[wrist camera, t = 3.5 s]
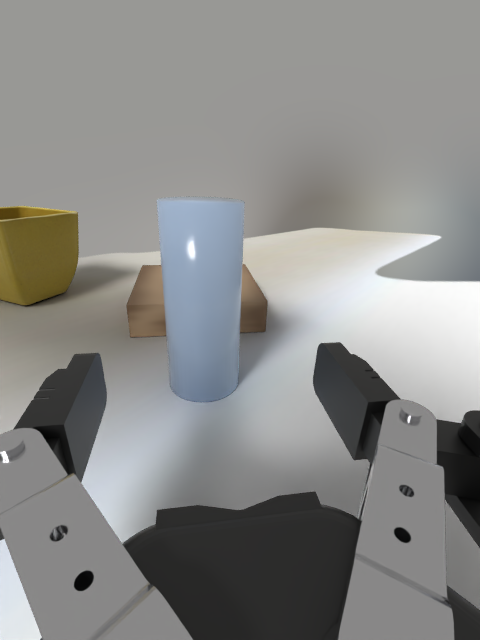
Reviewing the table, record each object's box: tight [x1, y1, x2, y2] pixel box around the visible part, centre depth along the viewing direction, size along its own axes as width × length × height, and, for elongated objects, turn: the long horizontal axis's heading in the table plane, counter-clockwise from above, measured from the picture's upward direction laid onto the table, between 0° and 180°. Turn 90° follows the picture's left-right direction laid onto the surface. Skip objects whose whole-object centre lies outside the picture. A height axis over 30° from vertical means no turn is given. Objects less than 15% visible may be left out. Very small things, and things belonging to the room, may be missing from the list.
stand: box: [126, 264, 267, 337], centre depth 34 cm, size 12×12×3 cm
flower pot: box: [0, 206, 78, 305], centre depth 35 cm, size 9×9×9 cm
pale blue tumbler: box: [157, 197, 245, 402], centre depth 21 cm, size 5×5×12 cm
